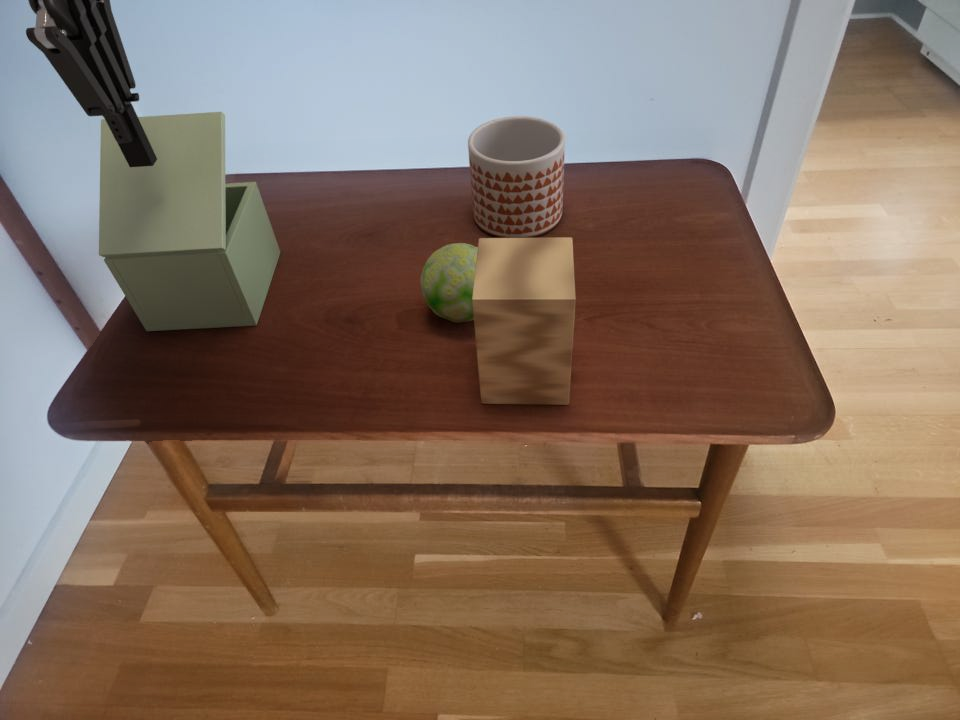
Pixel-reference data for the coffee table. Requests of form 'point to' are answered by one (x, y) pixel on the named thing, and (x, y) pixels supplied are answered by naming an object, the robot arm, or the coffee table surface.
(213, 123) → the lid
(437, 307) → the decorative ball
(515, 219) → the planter
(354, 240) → the coffee table surface
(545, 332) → the stand
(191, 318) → the box
